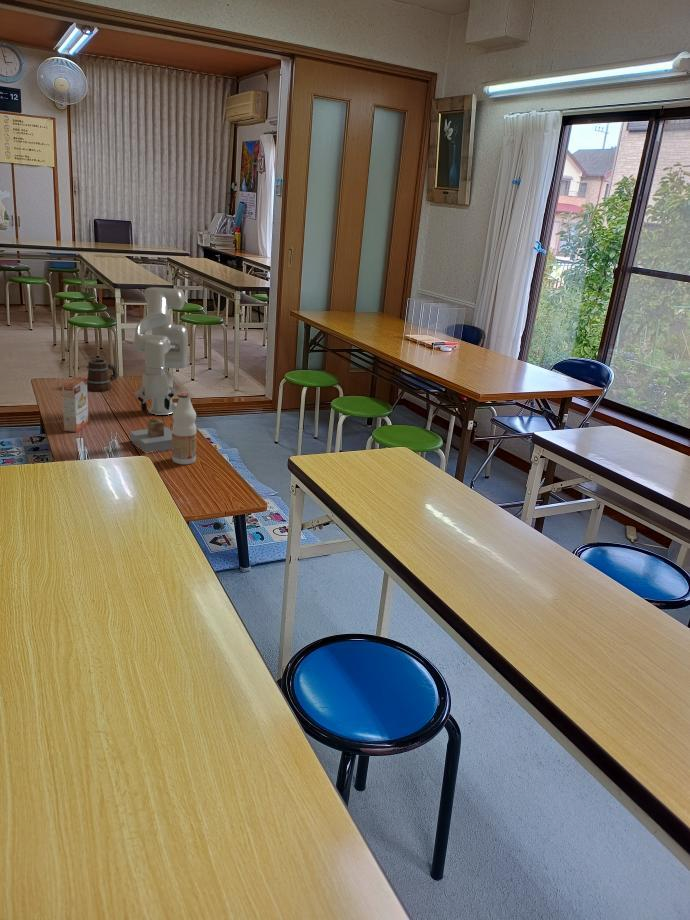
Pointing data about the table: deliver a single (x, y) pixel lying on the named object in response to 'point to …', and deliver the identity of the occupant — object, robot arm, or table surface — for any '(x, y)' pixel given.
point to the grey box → (152, 440)
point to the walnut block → (155, 428)
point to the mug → (99, 375)
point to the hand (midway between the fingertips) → (155, 410)
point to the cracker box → (75, 404)
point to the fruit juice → (184, 431)
